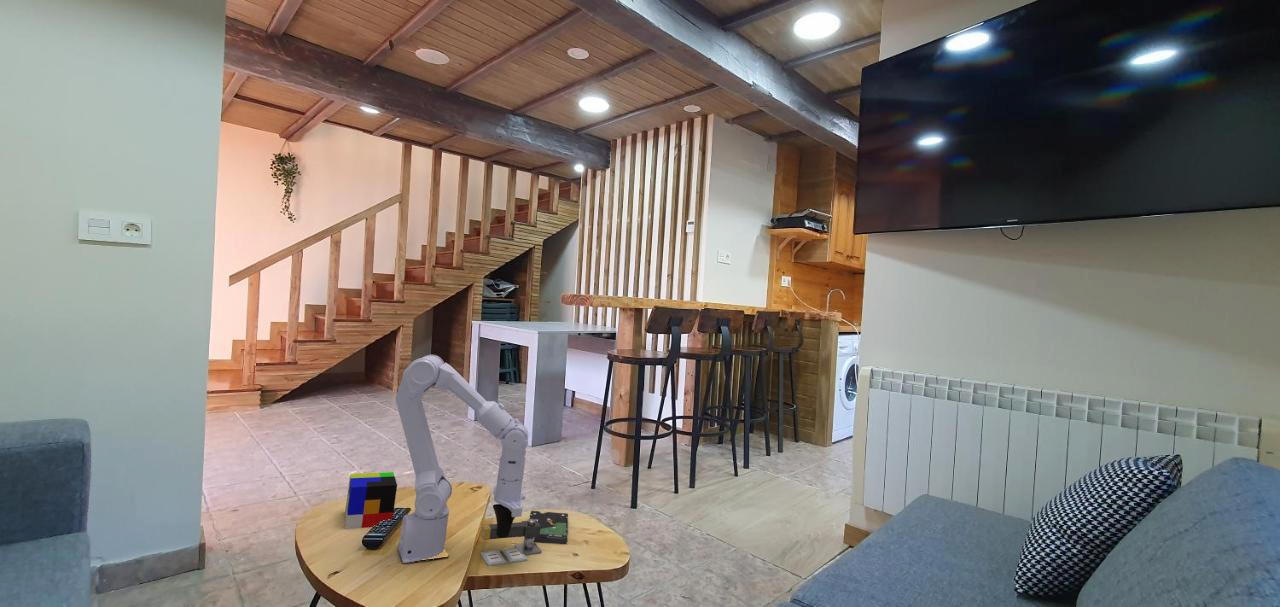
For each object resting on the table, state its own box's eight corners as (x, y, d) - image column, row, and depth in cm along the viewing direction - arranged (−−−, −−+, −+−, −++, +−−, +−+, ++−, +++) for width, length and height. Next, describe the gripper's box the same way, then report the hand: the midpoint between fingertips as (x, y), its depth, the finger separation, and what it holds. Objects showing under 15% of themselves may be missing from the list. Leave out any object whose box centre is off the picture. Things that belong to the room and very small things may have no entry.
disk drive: (528, 520, 144) (524, 543, 129) (530, 510, 144) (526, 532, 129) (566, 523, 145) (567, 546, 131) (568, 512, 146) (568, 534, 131)
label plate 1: (488, 566, 115) (488, 563, 115) (480, 554, 120) (480, 551, 120) (505, 563, 117) (506, 561, 117) (497, 551, 122) (498, 549, 122)
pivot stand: (521, 555, 122) (525, 525, 122) (514, 546, 126) (518, 517, 126) (541, 553, 125) (545, 523, 125) (534, 543, 129) (537, 515, 129)
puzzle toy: (345, 529, 124) (351, 487, 125) (344, 513, 133) (350, 473, 133) (391, 525, 129) (397, 485, 130) (388, 510, 138) (393, 472, 138)
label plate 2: (510, 563, 118) (510, 560, 118) (501, 551, 123) (502, 548, 123) (527, 560, 120) (527, 558, 120) (518, 549, 125) (518, 546, 125)
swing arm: (535, 530, 128) (536, 519, 128) (539, 536, 125) (540, 525, 125) (480, 534, 122) (482, 523, 122) (483, 541, 119) (485, 530, 119)
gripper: (538, 486, 117) (530, 548, 117) (516, 467, 129) (509, 522, 129) (507, 488, 113) (498, 552, 113) (488, 468, 126) (480, 525, 125)
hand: (502, 536), depth 121 cm, fingers closed, pressing on swing arm
